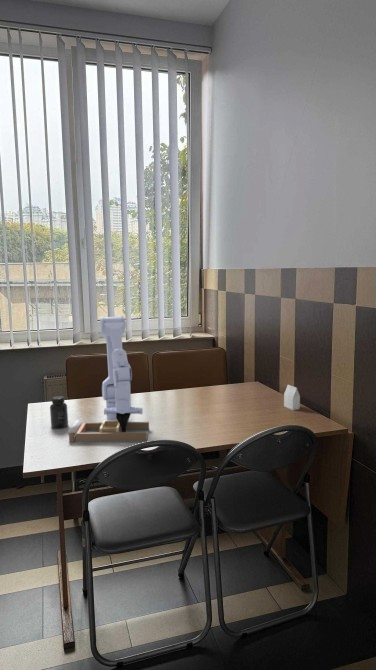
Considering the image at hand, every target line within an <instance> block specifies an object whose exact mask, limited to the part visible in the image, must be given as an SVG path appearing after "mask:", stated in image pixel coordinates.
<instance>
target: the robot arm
mask: <svg viewBox="0 0 376 670" xmlns="http://www.w3.org/2000/svg"><path fill="white" fill-rule="evenodd" d="M126 326H127V325H126V318H125V317H124V316H123V315H122V316H107V317H105V316H104V317H103V316H101V317H100V319H99V333H100V336H101V337H102V338H103V339H105V342H106V343H105V344H106V357H107V360H106V361H107V371H108V372H107V373H108V374H107V375H108V376H107V378H105V380H103V381H102V384H101V395H102V396H101V397H102V399H103V400H104V401H106V402H105V408H104V410H103V414H104V416H105V415H106V419H105V420H104V421H118V422H119V424H120V426H121V430H122V432H126V427H127V422H129V420H130V417H131V415H132V414H133V415H135V414H137V415H143V413H144V411H143V409H144V408H143V407H135V406H131V405H132V402H131V401H132V399H131V398H132V397H131V396H132V395H131V381H132V378H133V373H132V372H133V371H132V367H131V365H130V363H129V360H128V355H127V351H126V350H125V349H123V338H122V336H124V333H125V331H126Z"/></svg>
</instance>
